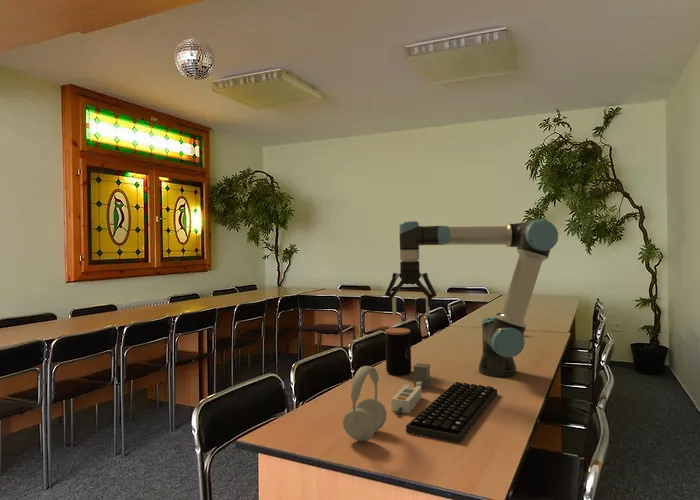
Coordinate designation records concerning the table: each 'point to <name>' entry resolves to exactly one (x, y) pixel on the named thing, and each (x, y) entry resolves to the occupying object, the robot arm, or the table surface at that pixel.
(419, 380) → the charger
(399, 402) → the strip
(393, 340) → the coffee jar
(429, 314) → the robot arm
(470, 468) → the table surface
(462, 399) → the computer keyboard
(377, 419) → the headphones
